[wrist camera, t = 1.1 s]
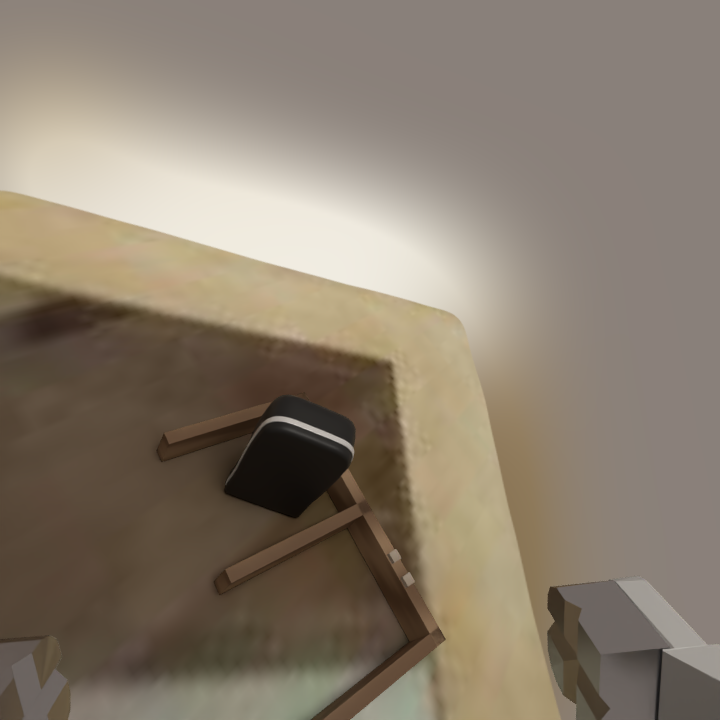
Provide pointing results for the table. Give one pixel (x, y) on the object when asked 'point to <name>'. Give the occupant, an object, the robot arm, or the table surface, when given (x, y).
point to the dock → (351, 516)
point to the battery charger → (293, 456)
